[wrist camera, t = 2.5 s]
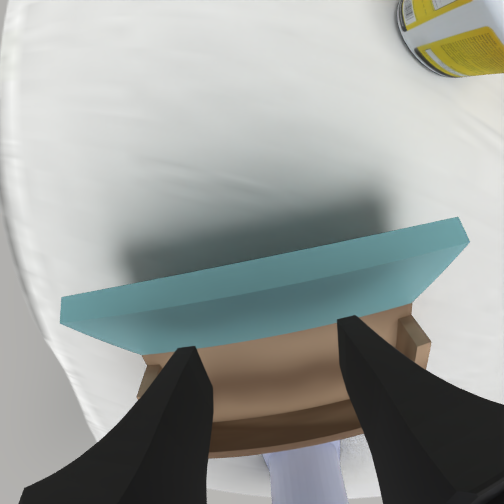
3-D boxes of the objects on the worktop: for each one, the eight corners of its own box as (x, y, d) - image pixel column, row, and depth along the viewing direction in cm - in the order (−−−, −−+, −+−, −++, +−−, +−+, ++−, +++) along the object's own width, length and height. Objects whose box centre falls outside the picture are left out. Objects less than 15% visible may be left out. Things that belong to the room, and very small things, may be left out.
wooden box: (392, 375, 23) (413, 417, 18) (189, 413, 24) (182, 459, 19) (399, 287, 20) (433, 328, 15) (148, 336, 21) (129, 386, 16)
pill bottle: (478, 82, 14) (614, 89, 3) (404, 75, 14) (562, 54, 3) (458, 0, 11) (574, -36, 1) (380, -16, 12) (492, -99, 1)
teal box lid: (408, 305, 17) (470, 241, 10) (145, 356, 18) (59, 323, 11) (403, 288, 18) (458, 216, 10) (144, 338, 19) (61, 297, 12)
